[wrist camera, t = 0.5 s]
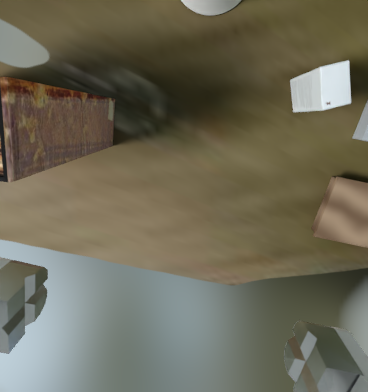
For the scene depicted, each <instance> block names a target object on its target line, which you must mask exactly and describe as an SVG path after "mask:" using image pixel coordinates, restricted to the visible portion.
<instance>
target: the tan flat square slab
mask: <svg viewBox="0 0 368 392" xmlns="http://www.w3.org/2000/svg"><path fill="white" fill-rule="evenodd" d="M311 229H312V230H313V231H314V234H313V236H314V237H319V238H324V239H328V240H333V241H338V242H343V243H348V244H353V245H358V246H363V247H368V183H366V182H361V181H356V180H351V179H347V178H342V177H337V176H336V177H331V180H330V183H329V185H328V188H327V190H326V193H325V195H324V198H323V200H322V203H321V205H320V208H319V210H318V213H317V216H316V218H315V221H314V223H313V226H312V228H311Z"/></svg>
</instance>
